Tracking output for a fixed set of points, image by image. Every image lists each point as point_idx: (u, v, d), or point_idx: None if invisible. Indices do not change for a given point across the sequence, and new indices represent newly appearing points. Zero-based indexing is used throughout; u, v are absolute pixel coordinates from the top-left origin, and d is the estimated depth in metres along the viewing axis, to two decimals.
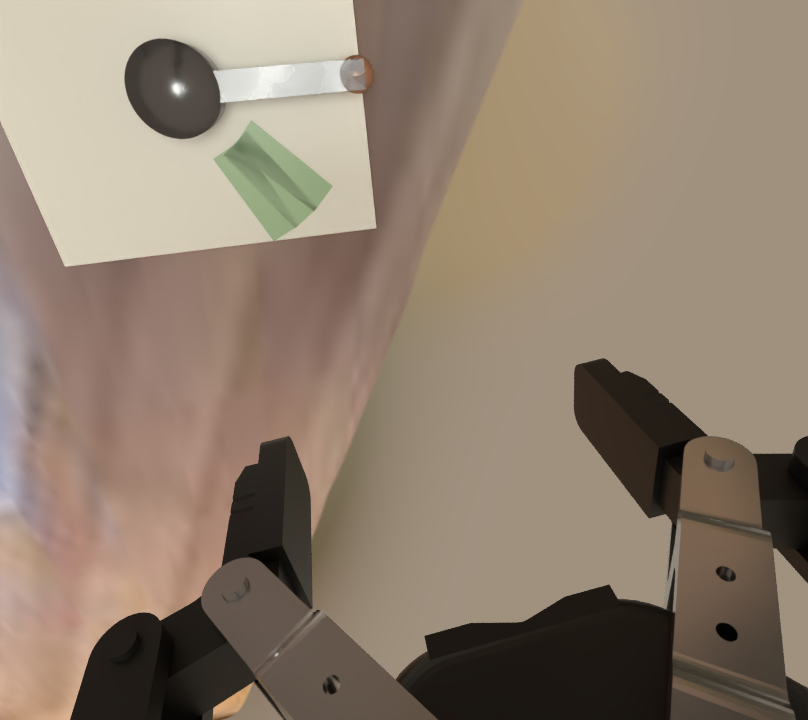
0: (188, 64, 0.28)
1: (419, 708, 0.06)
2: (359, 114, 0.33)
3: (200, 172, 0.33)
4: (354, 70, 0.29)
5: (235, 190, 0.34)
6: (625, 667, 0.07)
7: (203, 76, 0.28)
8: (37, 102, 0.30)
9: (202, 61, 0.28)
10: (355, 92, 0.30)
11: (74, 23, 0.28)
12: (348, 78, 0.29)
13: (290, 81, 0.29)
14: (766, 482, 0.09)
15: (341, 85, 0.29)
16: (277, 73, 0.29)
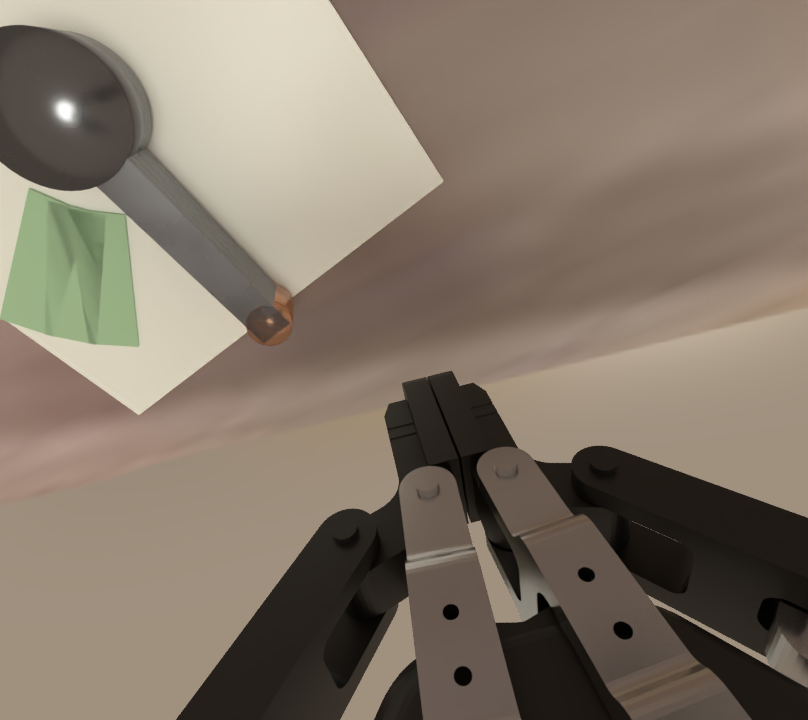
0: (103, 122, 0.17)
1: (508, 688, 0.06)
2: (240, 328, 0.25)
3: None
4: (271, 321, 0.22)
5: (16, 236, 0.21)
6: None
7: (107, 150, 0.17)
8: None
9: (126, 141, 0.17)
10: (250, 334, 0.22)
11: None
12: (259, 320, 0.22)
13: (200, 260, 0.20)
14: None
15: (245, 316, 0.22)
16: (195, 241, 0.20)
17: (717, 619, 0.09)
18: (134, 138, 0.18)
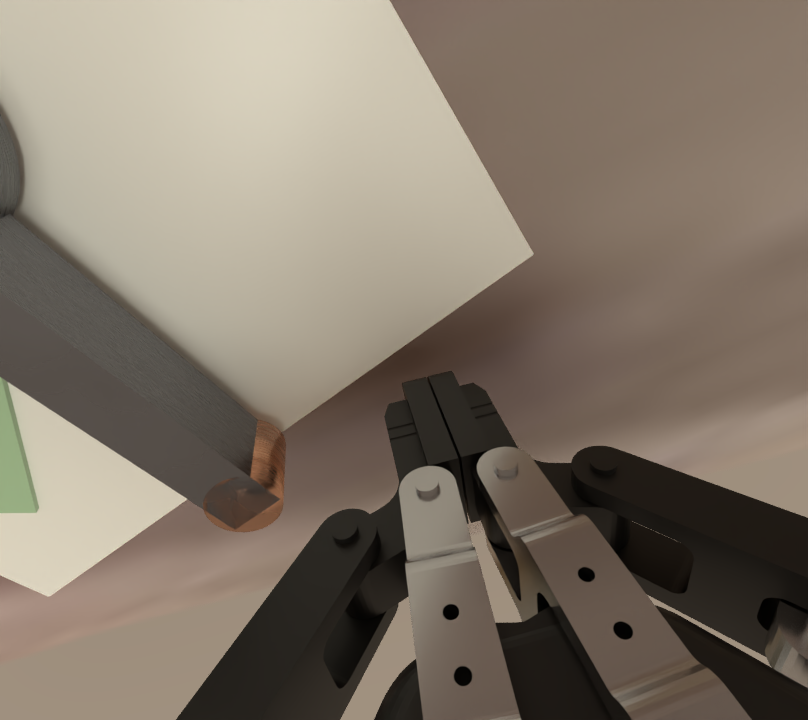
0: None
1: (508, 688, 0.06)
2: None
3: None
4: (247, 498, 0.13)
5: None
6: None
7: None
8: None
9: None
10: (212, 519, 0.13)
11: None
12: (226, 498, 0.13)
13: (112, 417, 0.11)
14: None
15: (201, 495, 0.13)
16: (101, 387, 0.11)
17: (717, 619, 0.09)
18: None
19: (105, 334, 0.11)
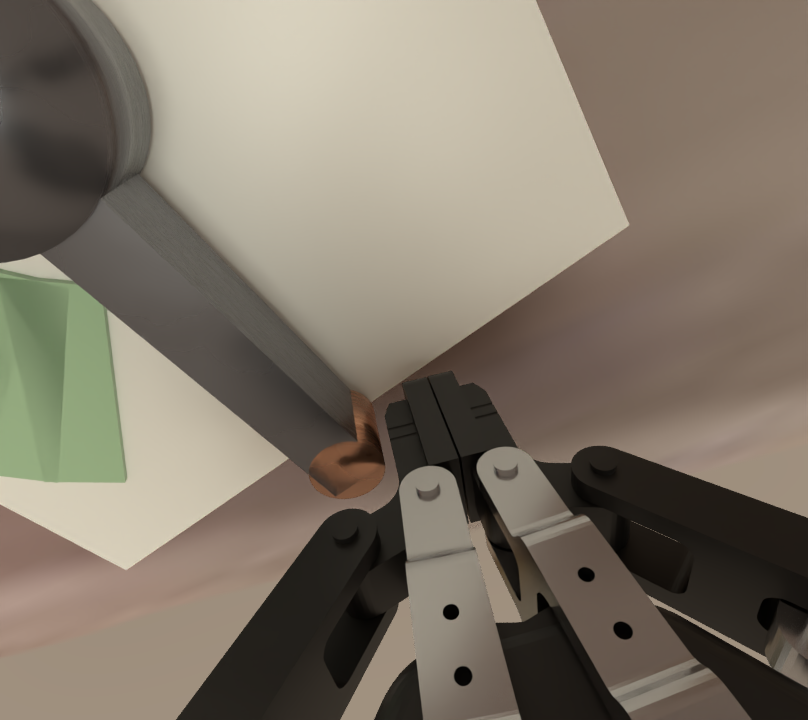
0: (48, 125, 0.08)
1: (508, 688, 0.06)
2: None
3: None
4: (351, 464, 0.13)
5: None
6: None
7: (59, 183, 0.08)
8: None
9: (99, 165, 0.08)
10: (315, 485, 0.13)
11: None
12: (331, 463, 0.13)
13: (237, 377, 0.11)
14: None
15: (308, 460, 0.13)
16: (231, 345, 0.11)
17: (717, 619, 0.09)
18: (115, 158, 0.09)
19: (229, 295, 0.11)
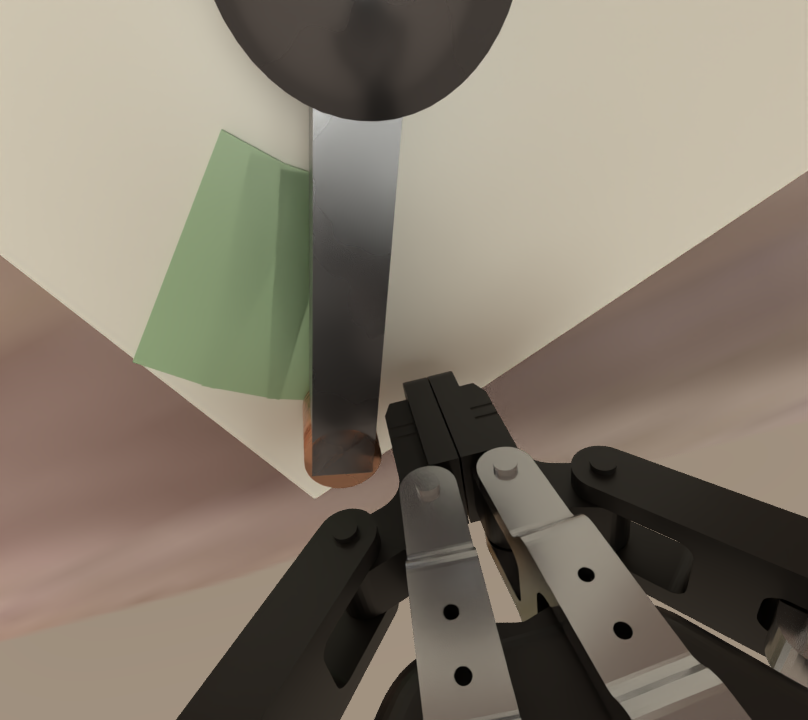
0: (434, 40, 0.08)
1: (508, 688, 0.06)
2: (494, 369, 0.16)
3: (158, 109, 0.11)
4: (352, 456, 0.13)
5: (182, 218, 0.12)
6: None
7: (394, 81, 0.08)
8: None
9: (435, 96, 0.09)
10: (307, 456, 0.13)
11: None
12: (338, 445, 0.13)
13: (346, 324, 0.11)
14: None
15: (325, 430, 0.12)
16: (370, 296, 0.11)
17: (717, 619, 0.09)
18: None
19: None
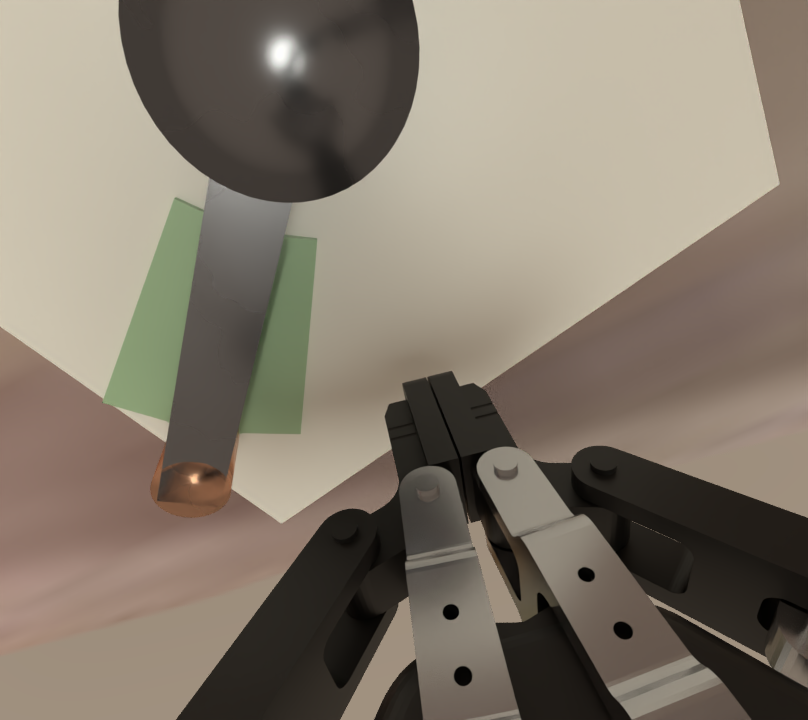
0: (328, 147, 0.09)
1: (508, 688, 0.06)
2: None
3: (116, 181, 0.12)
4: (200, 488, 0.13)
5: (143, 275, 0.13)
6: None
7: (287, 172, 0.10)
8: None
9: (323, 192, 0.10)
10: (155, 480, 0.13)
11: None
12: (188, 476, 0.13)
13: (213, 366, 0.11)
14: None
15: (176, 460, 0.13)
16: (240, 346, 0.11)
17: (717, 619, 0.09)
18: None
19: None
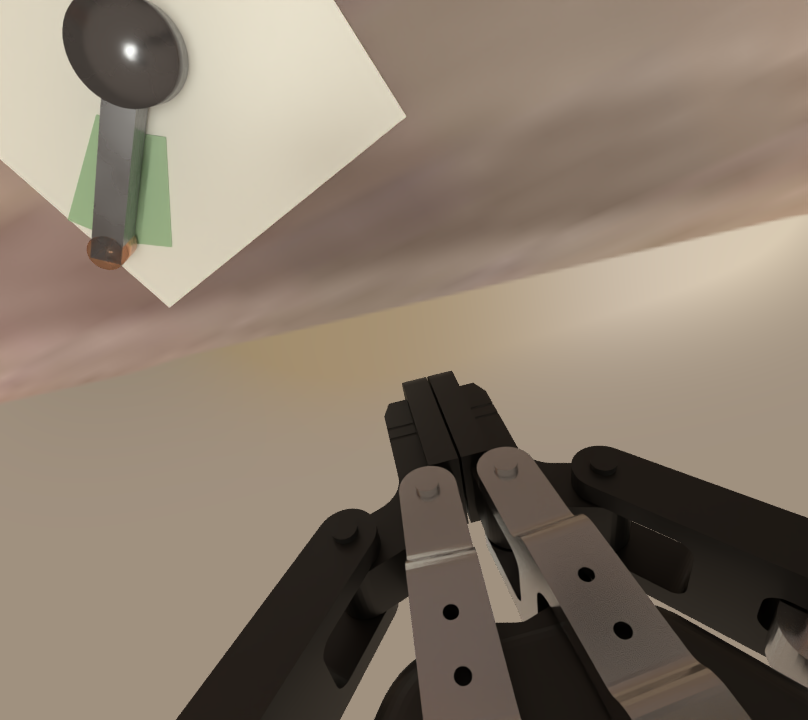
0: (146, 86, 0.25)
1: (508, 688, 0.06)
2: (251, 234, 0.32)
3: (70, 106, 0.27)
4: (111, 252, 0.28)
5: (84, 152, 0.28)
6: None
7: (131, 96, 0.25)
8: None
9: (146, 105, 0.25)
10: (88, 245, 0.28)
11: None
12: (104, 244, 0.28)
13: (110, 185, 0.27)
14: None
15: (98, 234, 0.28)
16: (121, 176, 0.27)
17: (717, 619, 0.09)
18: (151, 106, 0.26)
19: (135, 163, 0.27)
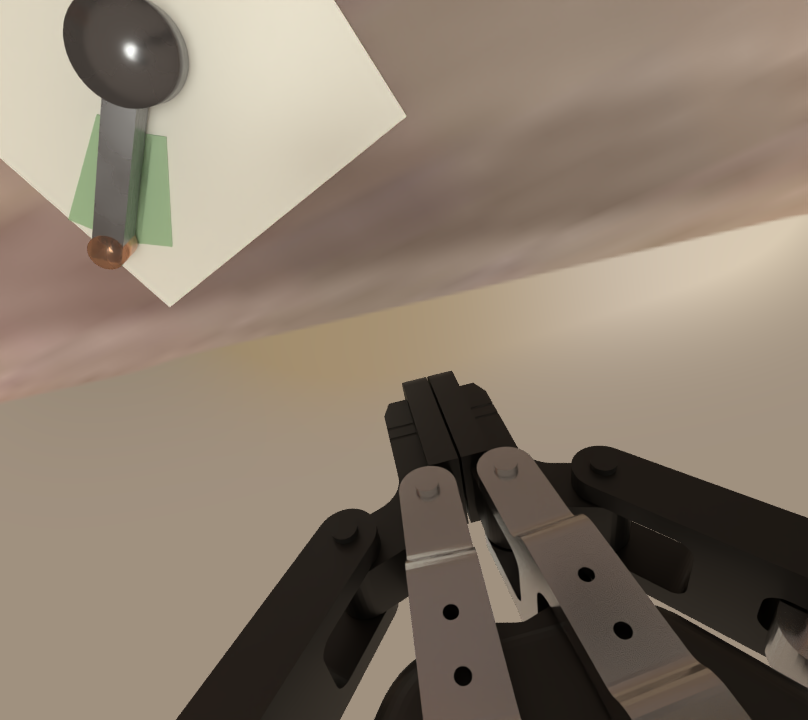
0: (146, 86, 0.25)
1: (509, 687, 0.06)
2: (251, 234, 0.32)
3: (70, 106, 0.27)
4: (111, 252, 0.28)
5: (85, 152, 0.28)
6: None
7: (131, 96, 0.25)
8: None
9: (147, 105, 0.25)
10: (89, 245, 0.28)
11: None
12: (104, 244, 0.28)
13: (111, 184, 0.27)
14: None
15: (98, 234, 0.28)
16: (121, 175, 0.27)
17: (717, 619, 0.09)
18: None
19: (136, 163, 0.27)
